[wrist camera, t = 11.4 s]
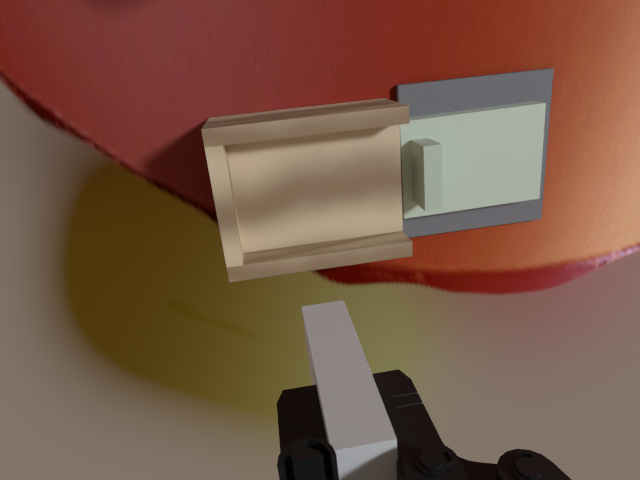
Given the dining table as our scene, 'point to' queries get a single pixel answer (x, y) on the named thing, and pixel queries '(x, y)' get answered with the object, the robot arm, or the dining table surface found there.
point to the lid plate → (471, 158)
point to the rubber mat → (473, 96)
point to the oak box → (308, 187)
